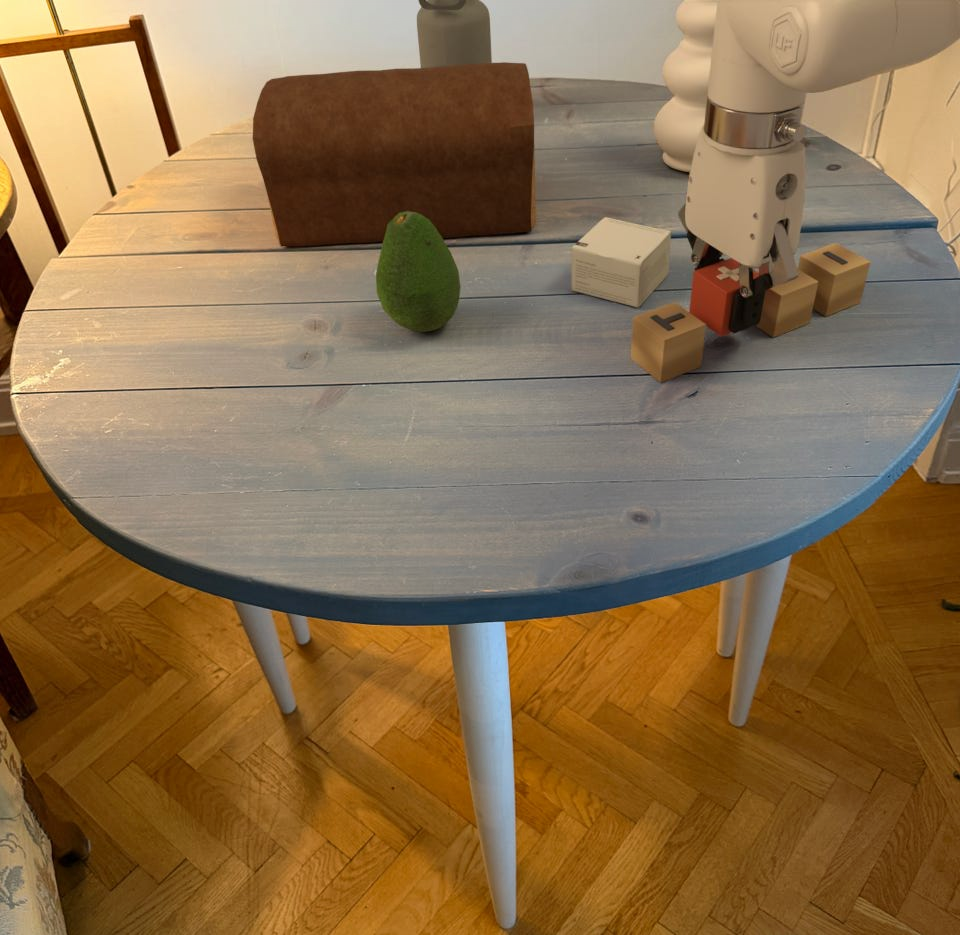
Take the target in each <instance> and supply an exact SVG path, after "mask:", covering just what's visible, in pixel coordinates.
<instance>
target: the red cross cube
mask: <svg viewBox="0 0 960 935" xmlns="http://www.w3.org/2000/svg"><path fill="white" fill-rule="evenodd" d="M757 277H759V273H758V272H757V270H756V269H755V270H754V269H753V279H755V278H757ZM691 283H692V285H691V293H690V294H691V295H690V302H689V310H688V312H689V313H691V314H692V315H694V316H695V317H696V318H698V319H699V320H701V321H702V322H703V323H705V324H706V328H707V329H709V330H711V331H712V332H714V333H715V334H717V335H718V336H719V337H725V336H727V335H728V334H729V335H730V334H732V332H731V331H730V330H729V324H730V317H731V311H732V304H733V297H734V294H735V293H737V292H740V286H739V262H737V261H736V260H734V259H732V258H731V257H729V258H727V259H725V260H724V261H721V262H718V263H715V264H713V265H710V266H707V267H704V268H701V269H699V270H696V271H695V270H694V271H693V276H692V282H691Z"/></svg>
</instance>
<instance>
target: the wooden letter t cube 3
mask: <svg viewBox="0 0 960 935" xmlns="http://www.w3.org/2000/svg"><path fill="white" fill-rule="evenodd" d="M706 329H707V327H706V324H705V323H703V322H702V321H701V320H699V319H698V318H696V317H695V316H694V315H692V314H691V313H689V310H687V309H685V308H684V307H682V306H681V305H679V304H678V303H677V302H675V301H673V302H672V301H671V302H670V303H667V304H665V305H661V306H658V307H656V308H654V309H653V308H652V309H651V310H648V311H645V312H642V313H640V314H637V315H634V316H633V318H632V332H631V348H630V359H631V360H632V361H633V362H634V363H636V365H638V366H639V367H640V368H642V369H643V370H644V371H645V372H646V373H647V374H649V376H652V377H653V378H654V379H655V380H656V381H657V382H659V383H663V382H666V381H669V380H671V379H674V378H676V377H679V376H681V375H684V374H687V373H689V372H691V371H694V370H696V369H700V368H701V367H702V360H703V352H704V346H705V345H704V344H705V337H706Z"/></svg>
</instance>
